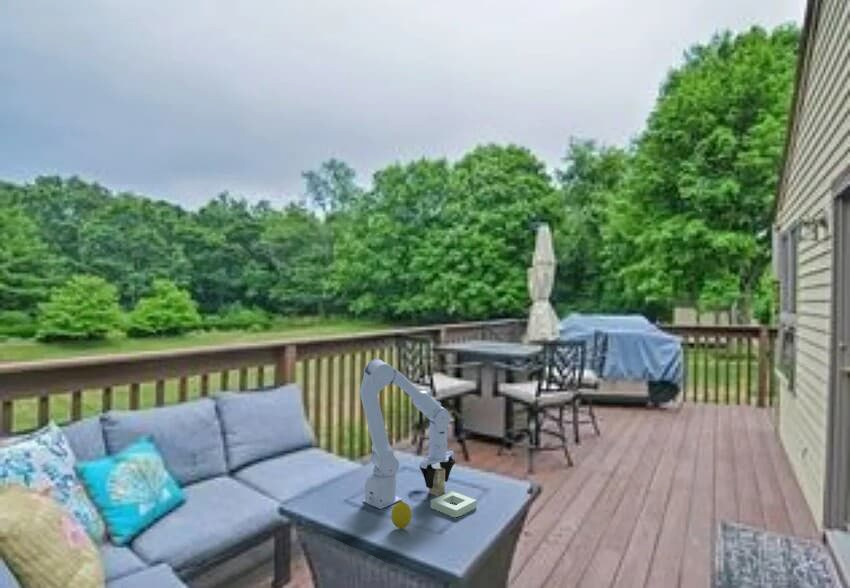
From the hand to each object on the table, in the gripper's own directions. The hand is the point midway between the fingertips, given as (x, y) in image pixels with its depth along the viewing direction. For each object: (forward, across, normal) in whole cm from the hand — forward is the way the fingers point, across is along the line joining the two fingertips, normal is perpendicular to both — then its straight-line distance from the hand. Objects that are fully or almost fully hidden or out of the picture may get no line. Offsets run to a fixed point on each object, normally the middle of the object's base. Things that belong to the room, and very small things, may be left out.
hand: (437, 484), depth 189 cm
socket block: (+3, -5, -11) cm, 12 cm away
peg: (+3, 0, 0) cm, 3 cm away
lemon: (+3, -26, -9) cm, 28 cm away
